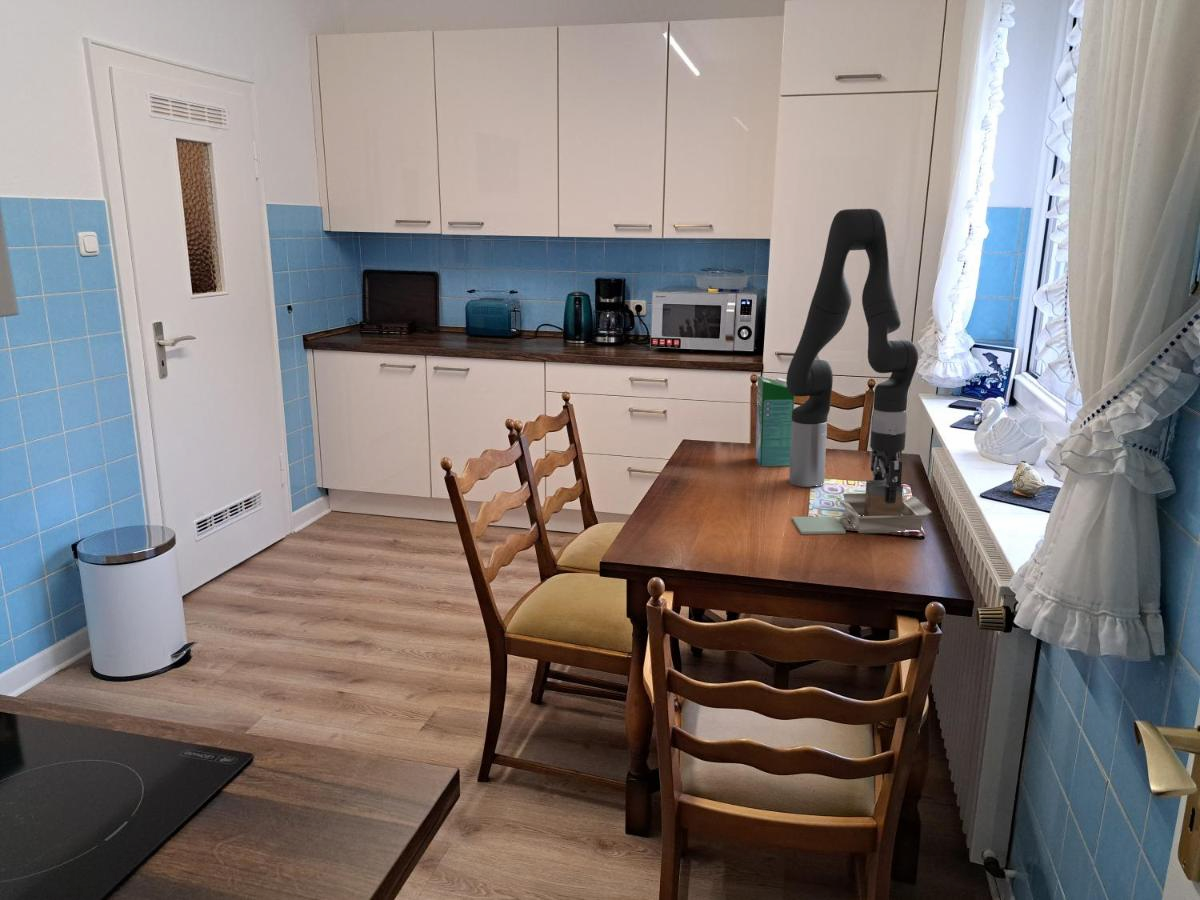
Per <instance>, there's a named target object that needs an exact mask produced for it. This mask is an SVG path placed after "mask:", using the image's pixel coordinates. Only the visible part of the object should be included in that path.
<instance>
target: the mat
mask: <svg viewBox="0 0 1200 900" xmlns="http://www.w3.org/2000/svg"><path fill="white" fill-rule="evenodd" d="M791 520H792V521H793V523H794V525H795V526H796V528H797V530H798V532H799V533H800V534H801V535H829V534H830V535H831V534H834V535H836V534H837V535H838V534H839V535H840V534H844V535H845V534H846V532H847V531H846V529H845V528H844V527H843V525H842V524H841V523H840V521H839V520H838V519H837V518H836V517H835V516H834V515H832V516H831V515H830V516H829V515H828V516H826V515H825V516H792V517H791Z"/></svg>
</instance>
